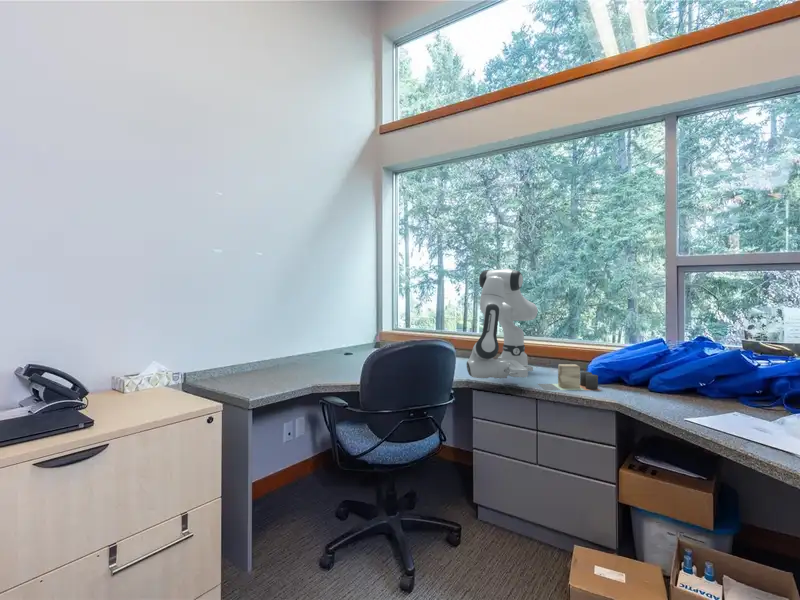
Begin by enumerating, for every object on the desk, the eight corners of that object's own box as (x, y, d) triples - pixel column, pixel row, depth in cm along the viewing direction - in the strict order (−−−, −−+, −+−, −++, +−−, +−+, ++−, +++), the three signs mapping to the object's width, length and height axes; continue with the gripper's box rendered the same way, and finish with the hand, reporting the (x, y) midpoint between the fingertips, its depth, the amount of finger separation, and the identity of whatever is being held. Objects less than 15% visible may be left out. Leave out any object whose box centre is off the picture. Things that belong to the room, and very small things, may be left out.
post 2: (583, 387, 184) (583, 374, 184) (594, 387, 184) (594, 374, 184) (588, 389, 179) (588, 376, 179) (599, 389, 179) (600, 376, 179)
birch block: (558, 385, 187) (558, 364, 187) (575, 385, 187) (575, 364, 187) (562, 388, 182) (562, 366, 182) (579, 388, 182) (580, 366, 182)
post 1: (578, 384, 190) (578, 371, 190) (588, 384, 190) (589, 371, 190) (582, 386, 185) (582, 373, 185) (593, 386, 185) (593, 373, 185)
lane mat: (536, 384, 191) (536, 383, 191) (589, 385, 190) (589, 383, 190) (545, 391, 179) (545, 390, 179) (601, 391, 178) (601, 390, 178)
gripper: (507, 366, 175) (539, 366, 175) (497, 357, 196) (525, 357, 195) (507, 380, 176) (539, 380, 175) (497, 370, 196) (525, 370, 196)
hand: (532, 368), depth 186 cm, fingers closed
